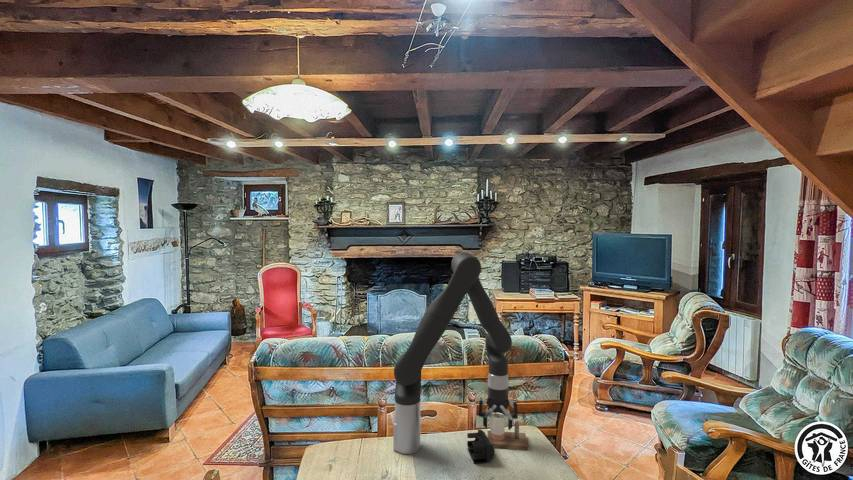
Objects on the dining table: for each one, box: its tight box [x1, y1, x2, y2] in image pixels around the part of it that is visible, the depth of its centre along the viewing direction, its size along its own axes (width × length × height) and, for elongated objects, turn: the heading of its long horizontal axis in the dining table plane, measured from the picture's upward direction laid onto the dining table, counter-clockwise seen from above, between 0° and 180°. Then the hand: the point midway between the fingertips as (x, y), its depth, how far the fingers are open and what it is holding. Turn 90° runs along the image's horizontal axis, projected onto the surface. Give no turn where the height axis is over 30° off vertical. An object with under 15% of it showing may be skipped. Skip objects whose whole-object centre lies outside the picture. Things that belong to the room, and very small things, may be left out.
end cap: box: [466, 429, 496, 465], centre depth 136 cm, size 10×7×7 cm
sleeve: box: [490, 412, 506, 440], centre depth 145 cm, size 5×5×8 cm
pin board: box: [487, 421, 529, 451], centre depth 145 cm, size 14×9×7 cm, turn 83°
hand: (497, 427), depth 145 cm, fingers open, 8 cm apart
